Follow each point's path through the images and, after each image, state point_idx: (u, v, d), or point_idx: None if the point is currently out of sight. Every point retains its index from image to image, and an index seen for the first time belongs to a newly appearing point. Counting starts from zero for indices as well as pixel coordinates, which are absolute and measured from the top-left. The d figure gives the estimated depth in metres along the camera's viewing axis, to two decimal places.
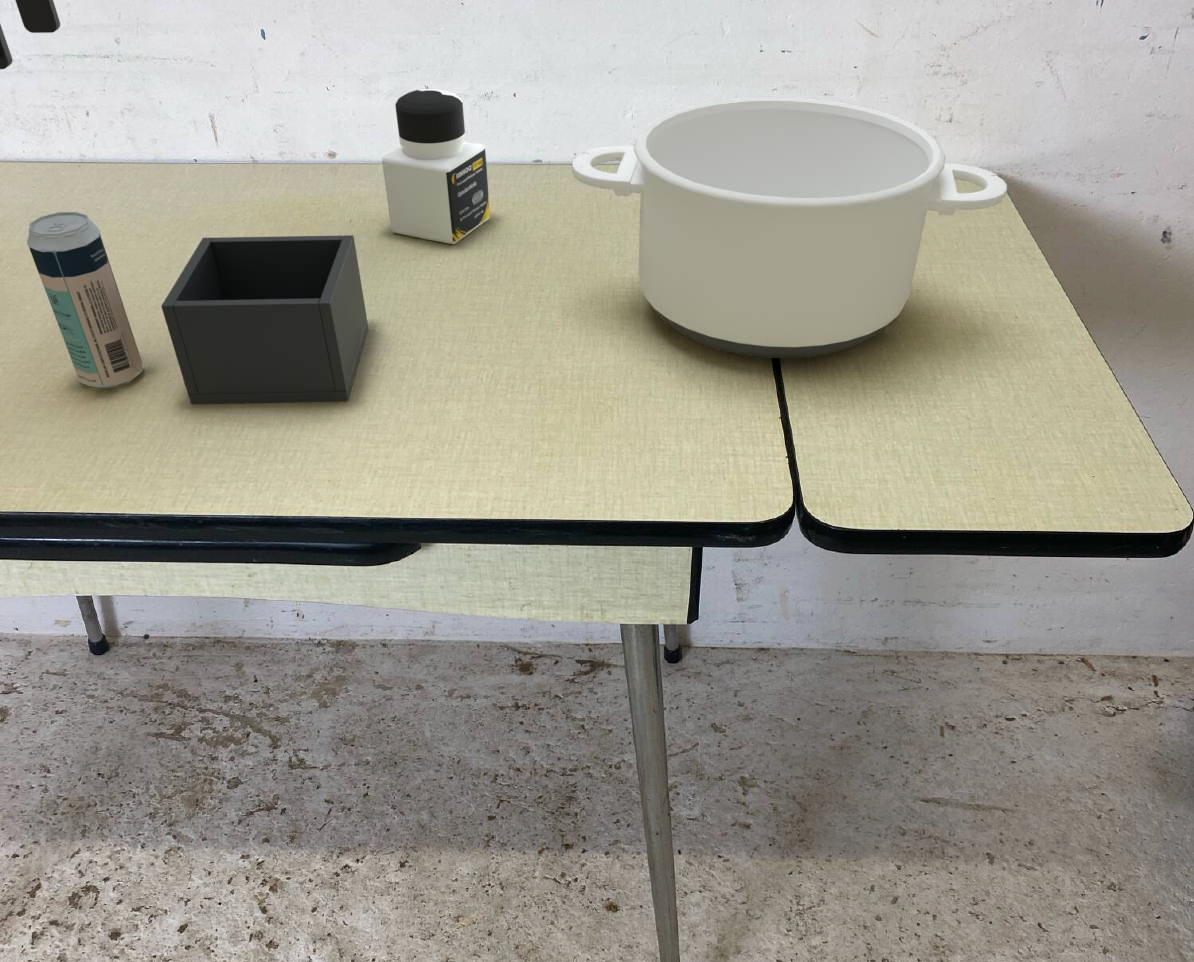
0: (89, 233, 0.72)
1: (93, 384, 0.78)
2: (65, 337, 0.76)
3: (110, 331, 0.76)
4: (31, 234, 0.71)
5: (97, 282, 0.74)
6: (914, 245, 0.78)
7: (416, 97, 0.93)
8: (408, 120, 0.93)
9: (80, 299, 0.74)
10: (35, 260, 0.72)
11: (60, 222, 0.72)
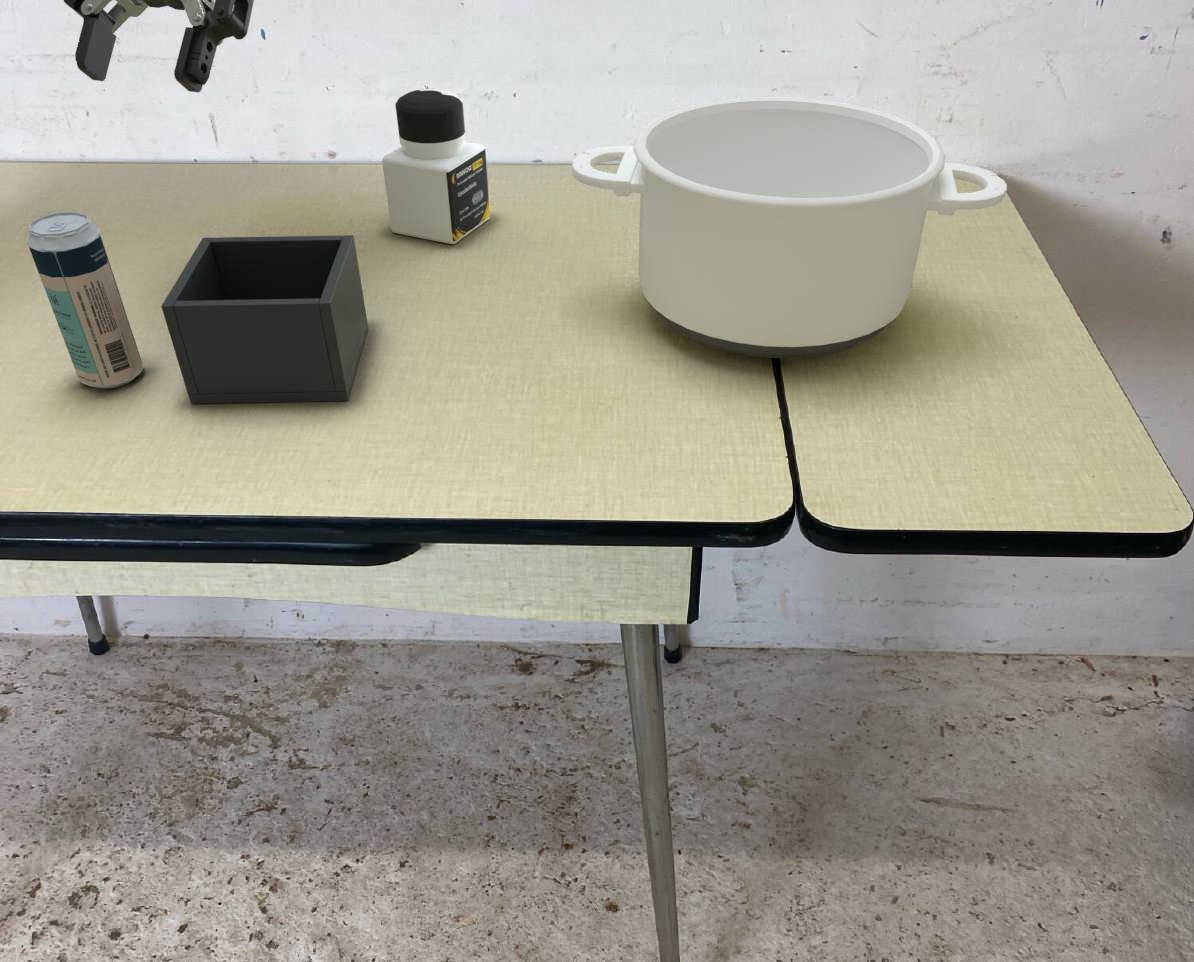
0: (89, 233, 0.72)
1: (93, 384, 0.78)
2: (65, 337, 0.76)
3: (110, 331, 0.76)
4: (31, 234, 0.71)
5: (97, 282, 0.74)
6: (914, 245, 0.78)
7: (416, 97, 0.93)
8: (408, 120, 0.93)
9: (80, 299, 0.74)
10: (35, 260, 0.72)
11: (60, 222, 0.72)
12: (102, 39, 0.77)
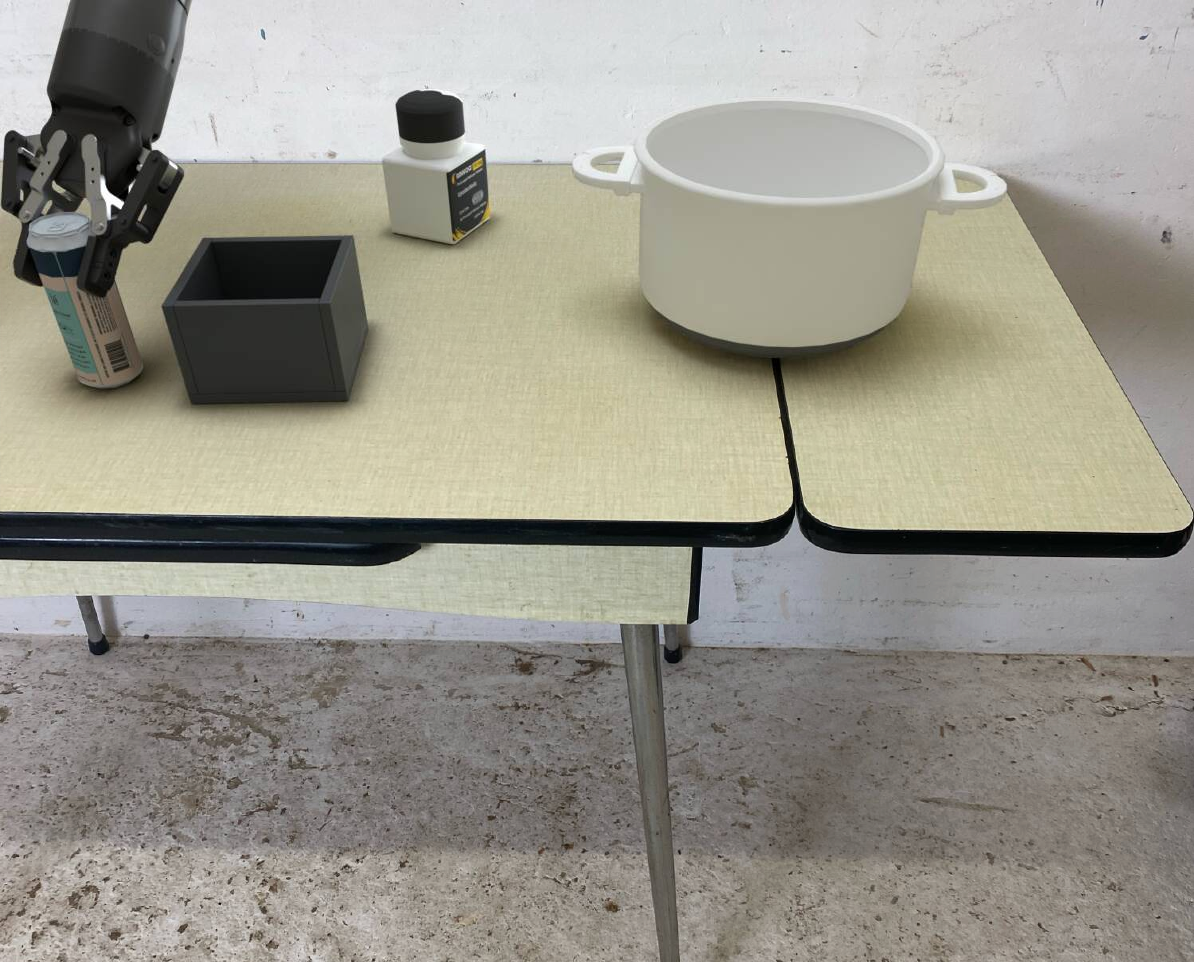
0: (89, 233, 0.72)
1: (93, 384, 0.78)
2: (65, 337, 0.76)
3: (110, 331, 0.76)
4: (31, 234, 0.71)
5: None
6: (914, 245, 0.78)
7: (416, 97, 0.93)
8: (408, 120, 0.93)
9: (80, 299, 0.74)
10: (35, 260, 0.72)
11: (60, 222, 0.72)
12: None
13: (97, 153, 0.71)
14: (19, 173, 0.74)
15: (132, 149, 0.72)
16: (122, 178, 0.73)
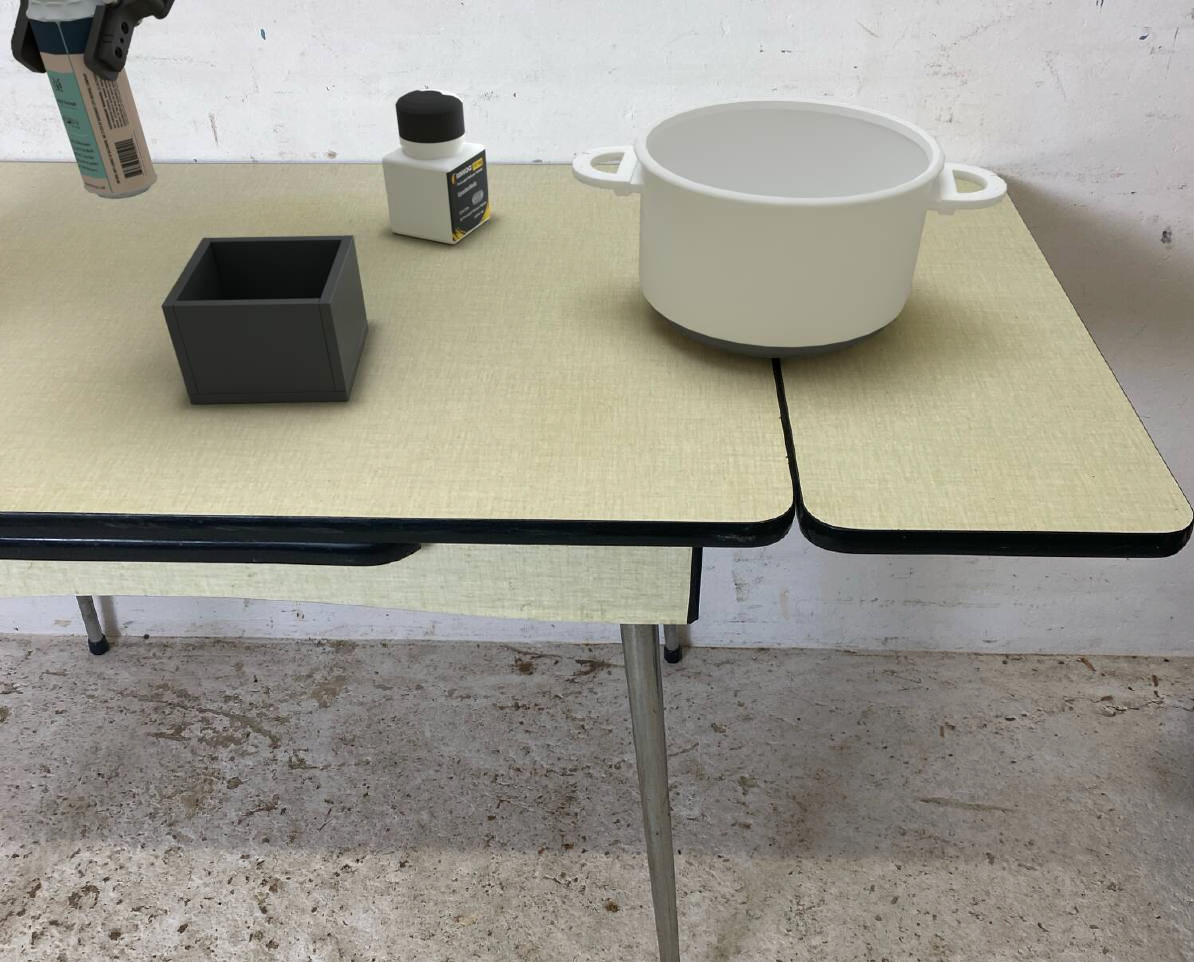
0: (97, 4, 0.64)
1: (102, 192, 0.70)
2: (70, 134, 0.68)
3: (121, 126, 0.68)
4: (31, 2, 0.63)
5: None
6: (914, 245, 0.78)
7: (416, 97, 0.93)
8: (408, 120, 0.93)
9: (87, 83, 0.65)
10: (36, 35, 0.64)
11: None
12: None
13: None
14: None
15: None
16: None
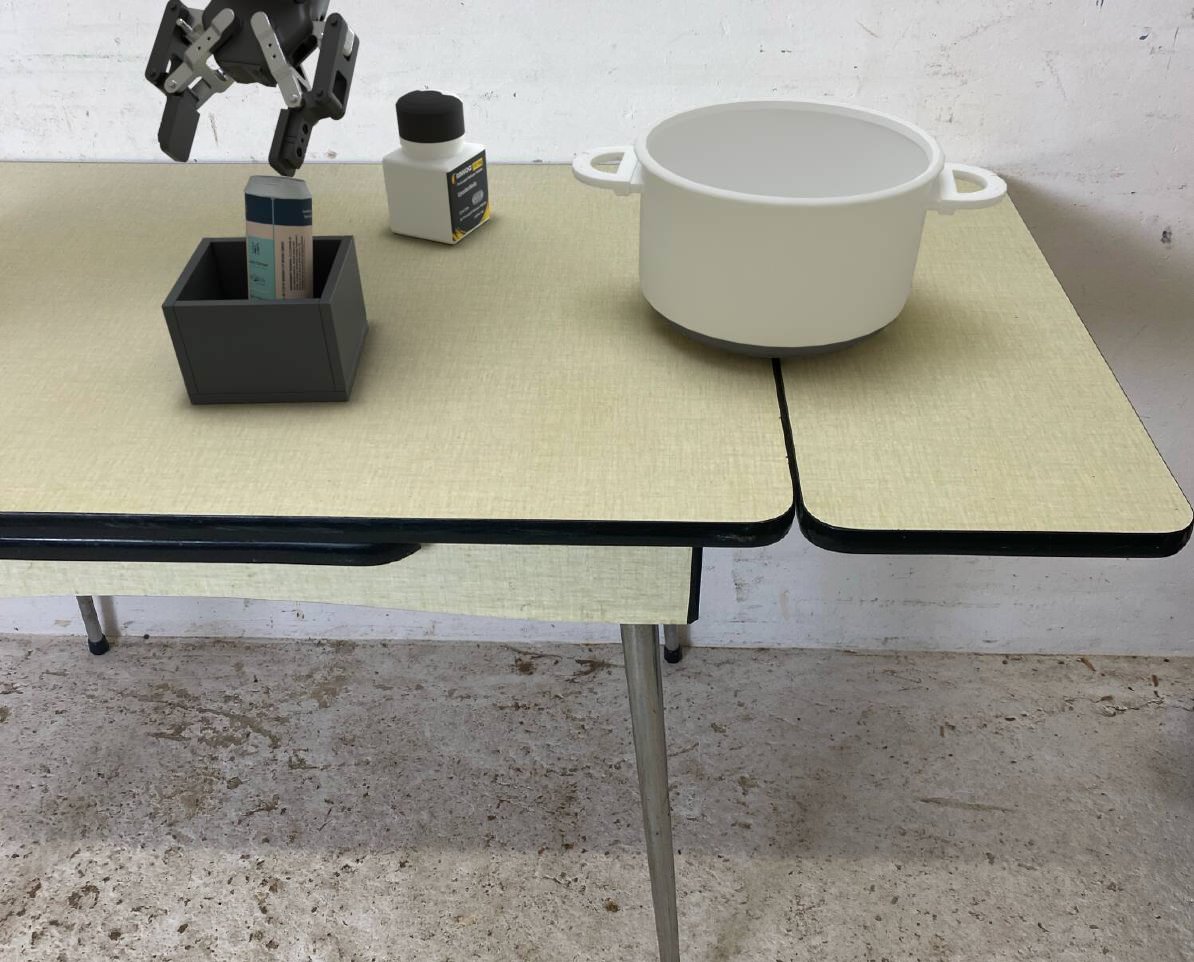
0: (305, 191, 0.76)
1: None
2: (253, 290, 0.77)
3: (299, 289, 0.78)
4: (252, 181, 0.74)
5: (301, 237, 0.76)
6: (914, 245, 0.78)
7: (416, 97, 0.93)
8: (408, 120, 0.93)
9: (282, 250, 0.76)
10: (249, 207, 0.75)
11: (278, 179, 0.76)
12: (186, 118, 0.71)
13: (268, 31, 0.68)
14: (171, 45, 0.71)
15: (303, 28, 0.69)
16: (290, 60, 0.70)
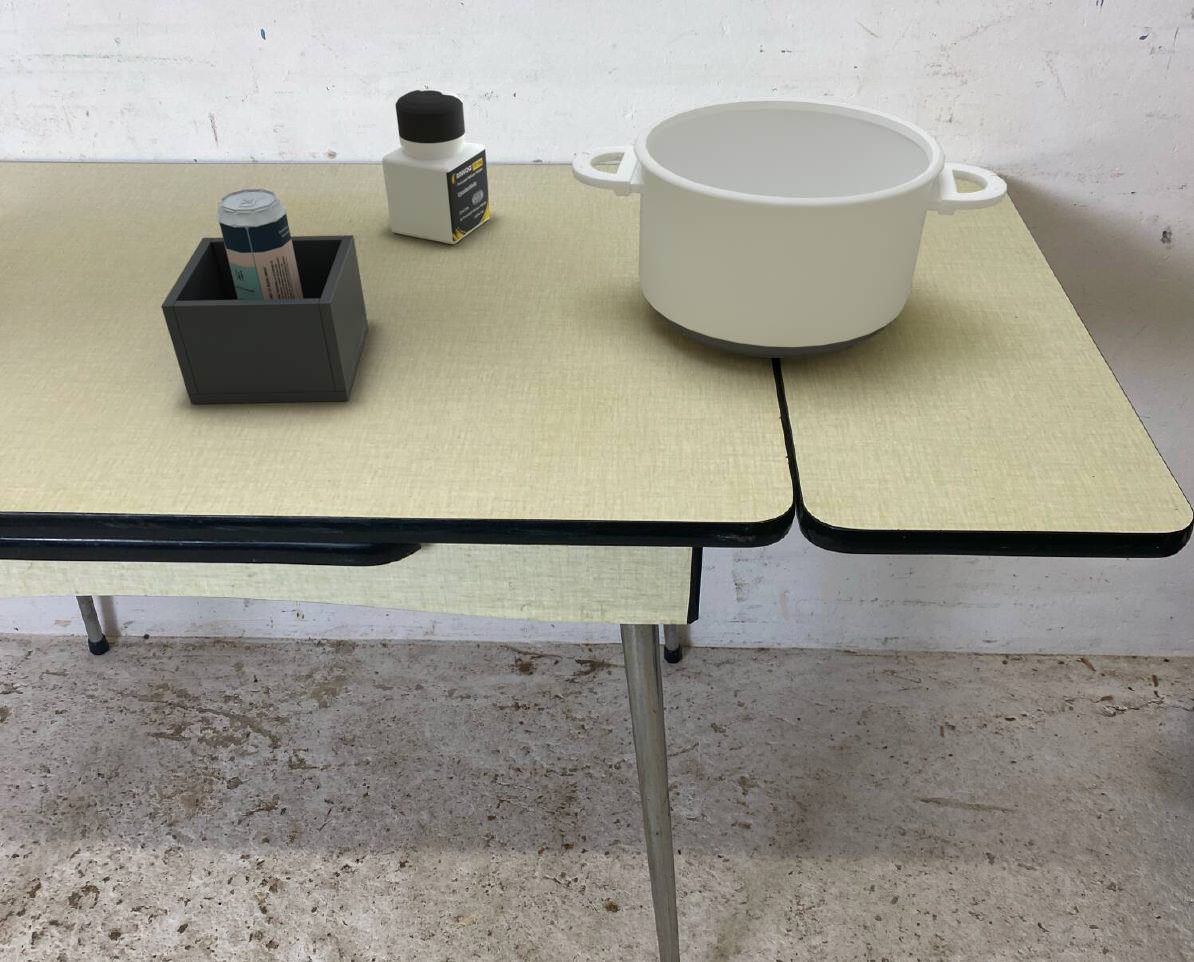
0: (278, 209, 0.73)
1: None
2: None
3: None
4: (223, 210, 0.72)
5: (282, 258, 0.75)
6: (914, 245, 0.78)
7: (416, 97, 0.93)
8: (408, 120, 0.93)
9: (266, 275, 0.75)
10: (225, 236, 0.73)
11: (249, 198, 0.73)
12: None
13: None
14: None
15: None
16: None
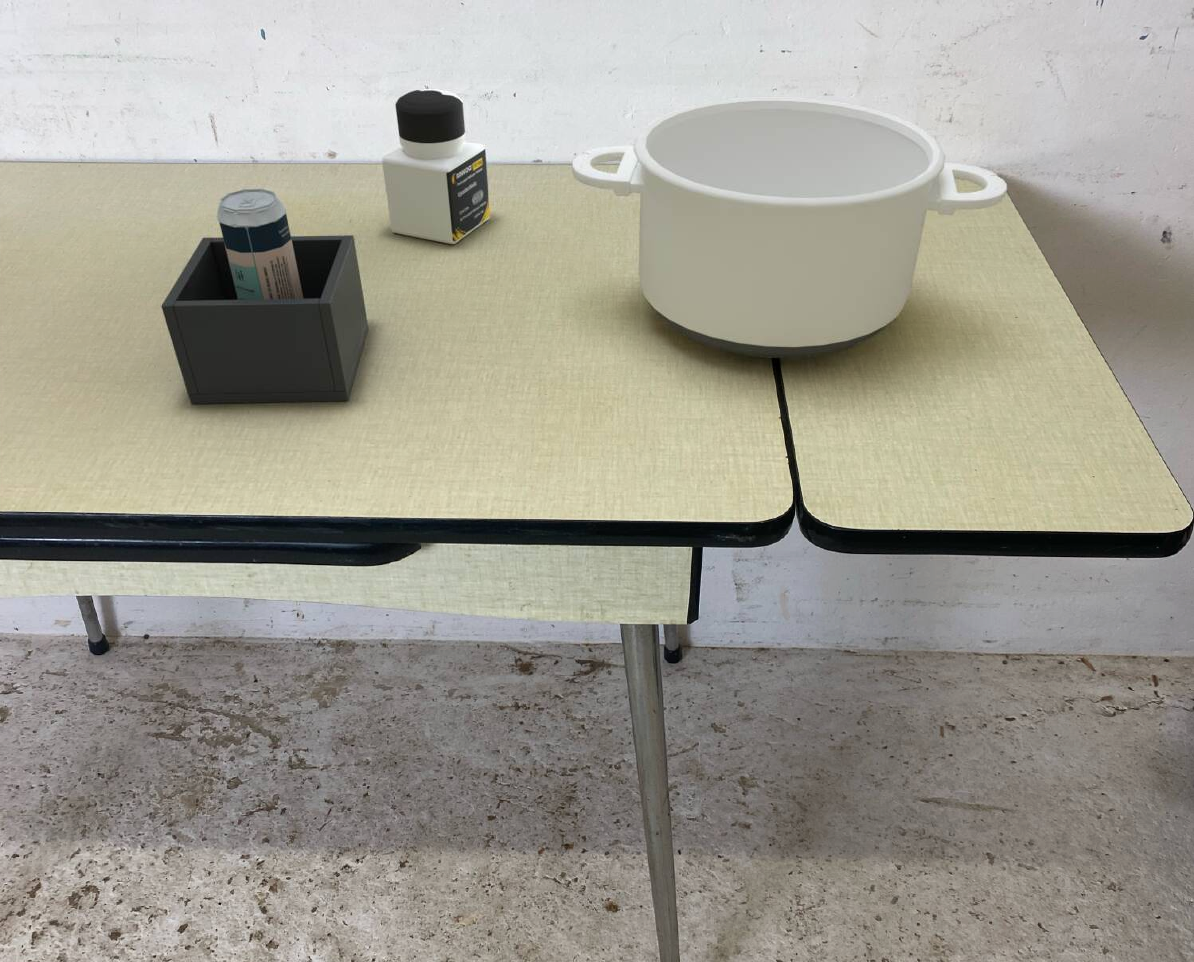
0: (278, 209, 0.73)
1: None
2: None
3: None
4: (223, 210, 0.72)
5: (282, 258, 0.75)
6: (914, 245, 0.78)
7: (416, 97, 0.93)
8: (408, 120, 0.93)
9: (266, 275, 0.75)
10: (225, 236, 0.73)
11: (249, 198, 0.73)
12: None
13: None
14: None
15: None
16: None
